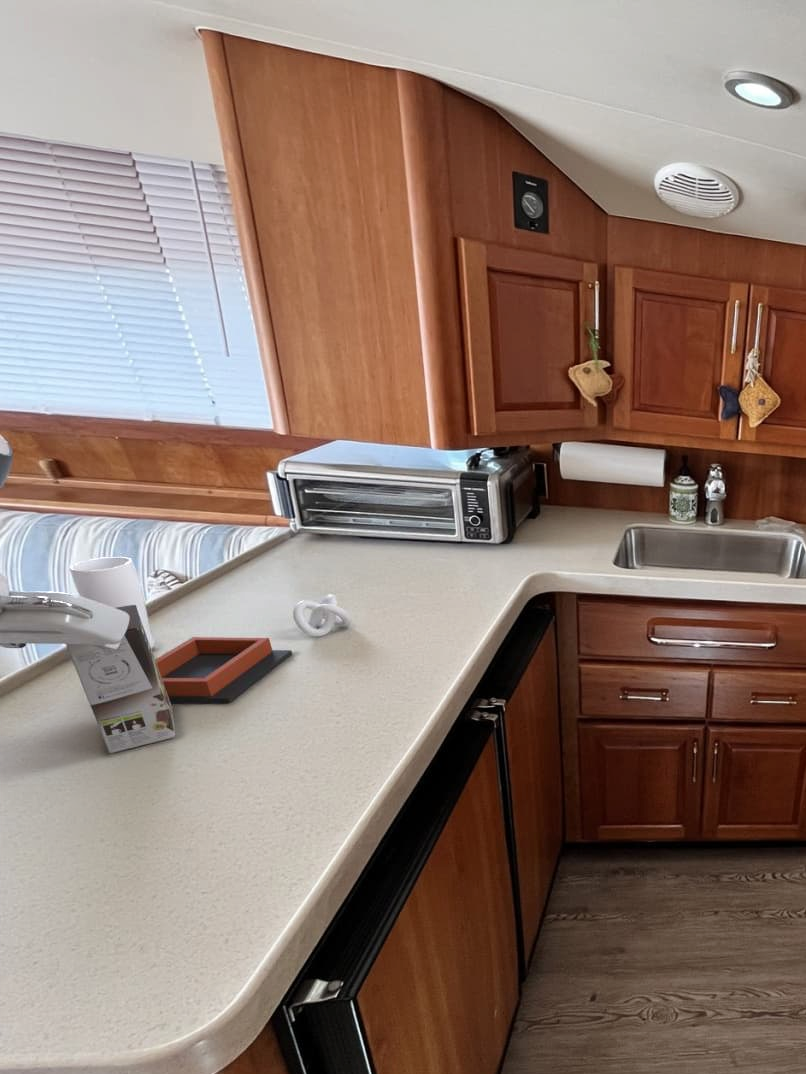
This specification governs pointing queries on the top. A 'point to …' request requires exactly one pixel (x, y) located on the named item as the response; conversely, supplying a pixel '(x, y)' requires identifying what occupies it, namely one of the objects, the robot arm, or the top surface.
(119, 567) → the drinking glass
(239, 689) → the dock pad
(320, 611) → the knot
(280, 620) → the top surface
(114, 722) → the coffee box
